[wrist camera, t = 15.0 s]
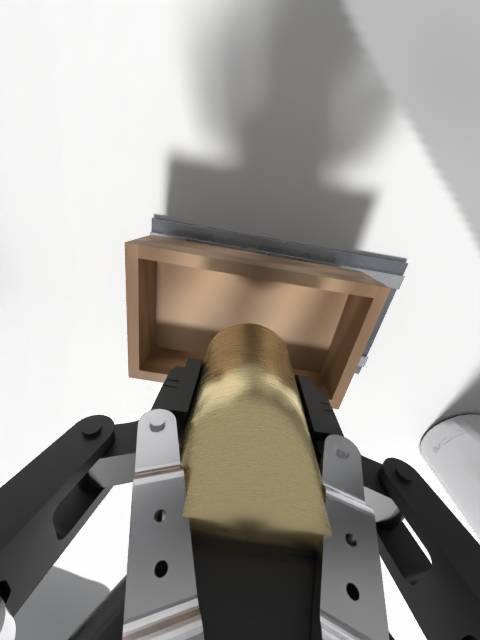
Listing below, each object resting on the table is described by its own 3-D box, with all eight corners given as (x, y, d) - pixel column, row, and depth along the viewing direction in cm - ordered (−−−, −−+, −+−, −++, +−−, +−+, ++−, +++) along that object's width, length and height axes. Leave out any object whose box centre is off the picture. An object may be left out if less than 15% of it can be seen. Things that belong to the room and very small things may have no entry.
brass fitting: (297, 330, 14) (373, 521, 5) (277, 398, 16) (310, 611, 7) (210, 316, 13) (151, 492, 5) (201, 386, 15) (149, 592, 7)
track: (405, 262, 22) (410, 264, 21) (357, 371, 27) (360, 375, 26) (153, 218, 21) (150, 218, 21) (151, 338, 26) (149, 342, 26)
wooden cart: (351, 265, 21) (391, 288, 15) (317, 361, 26) (338, 409, 20) (160, 232, 21) (124, 242, 15) (157, 336, 25) (128, 377, 19)
